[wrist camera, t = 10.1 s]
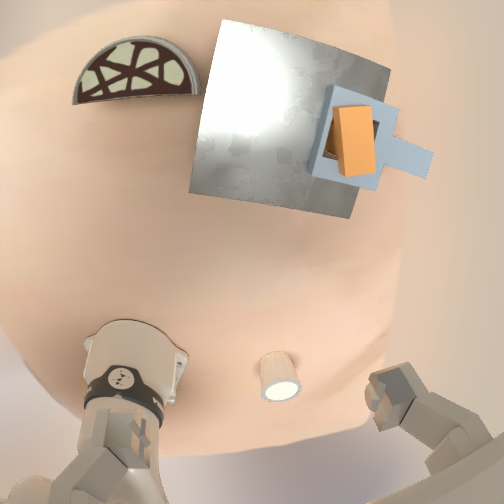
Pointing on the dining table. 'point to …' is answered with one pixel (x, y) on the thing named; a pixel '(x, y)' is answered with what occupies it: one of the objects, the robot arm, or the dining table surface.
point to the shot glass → (278, 377)
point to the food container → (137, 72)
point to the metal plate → (274, 118)
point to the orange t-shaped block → (352, 139)
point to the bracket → (385, 144)
